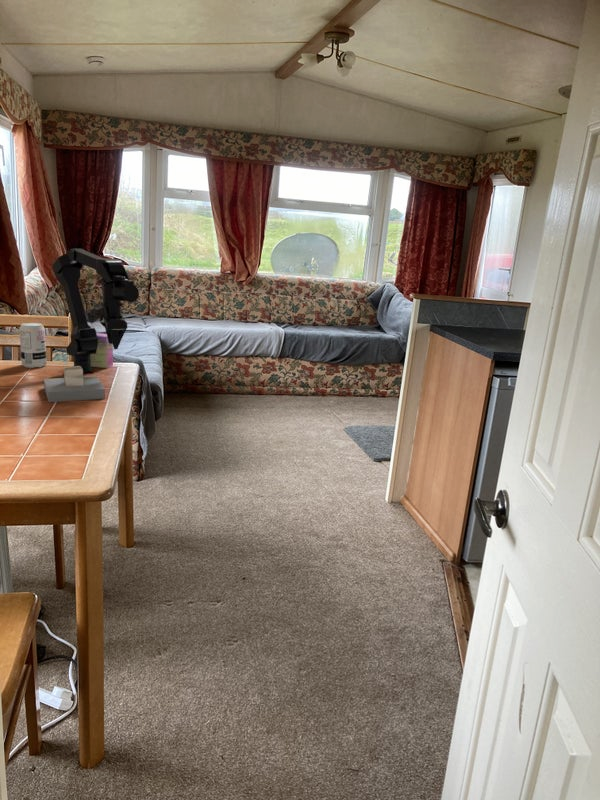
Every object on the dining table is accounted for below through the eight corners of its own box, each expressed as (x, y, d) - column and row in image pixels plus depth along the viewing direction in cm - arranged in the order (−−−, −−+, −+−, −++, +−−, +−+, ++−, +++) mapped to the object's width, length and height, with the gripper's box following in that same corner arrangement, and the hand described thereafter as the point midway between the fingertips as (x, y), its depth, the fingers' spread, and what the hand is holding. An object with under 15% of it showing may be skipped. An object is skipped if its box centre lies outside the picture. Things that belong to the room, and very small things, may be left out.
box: (113, 365, 226) (112, 333, 223) (107, 368, 221) (106, 336, 218) (86, 362, 227) (85, 331, 224) (79, 366, 222) (78, 334, 218)
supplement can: (22, 363, 221) (20, 322, 216) (47, 363, 223) (45, 322, 219) (20, 368, 213) (17, 326, 209) (46, 368, 216) (43, 326, 212)
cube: (64, 382, 188) (63, 366, 187) (81, 381, 190) (80, 365, 189) (66, 386, 184) (65, 370, 183) (83, 385, 186) (82, 369, 185)
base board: (44, 388, 191) (43, 379, 190) (97, 385, 198) (96, 376, 197) (48, 402, 178) (48, 392, 177) (105, 398, 185) (104, 388, 184)
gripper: (81, 295, 201) (83, 341, 205) (90, 302, 185) (91, 352, 190) (116, 295, 206) (117, 340, 210) (127, 302, 190) (128, 351, 194)
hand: (113, 346), depth 201 cm, fingers open, 9 cm apart
